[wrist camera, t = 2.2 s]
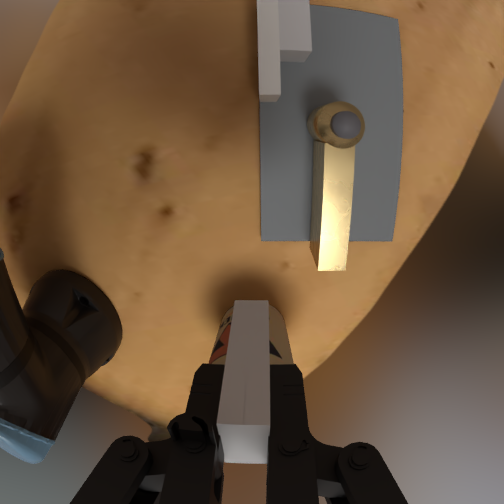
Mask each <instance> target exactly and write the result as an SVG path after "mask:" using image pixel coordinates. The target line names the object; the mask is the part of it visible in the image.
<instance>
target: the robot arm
mask: <svg viewBox="0 0 504 504" xmlns="http://www.w3.org/2000/svg"><path fill="white" fill-rule="evenodd" d="M3 258H4V254H3V251H2V249H1V248H0V447H1V448H2V449H4V450H5V451H7V452H8V453H10V454H12V455H13V456H15V457H17V458H19V459H21V460H23V461H25V462H28V463H34V464H35V463H39V462H41V461H42V460H43V459H44V458H45V456H46V454H47V453H48V451H49V449H50V447H51V446H52V445H54V444H55V440H56V438H57V436H58V433H59V431H60V429H61V427H62V425H63V423H64V421H65V419H66V417H67V415H68V413H69V411H70V409H71V407H72V405H73V403H74V401H75V399H76V397H77V395H78V393H79V391H80V389H81V387H82V385H83V384H84V382H85V380H86V379H87V378H88V377H90V376H91V375H92V374H93V373H95V372H96V371H97V370H98V369H99V368H100V367H101V366H103V365H105V364H106V363H108V362H109V361H110V360H111V359H112V358H113V357H114V355H115V353H116V351H117V350H118V348H119V346H120V344H121V340H122V328H121V323H120V320H119V317H118V315H117V313H116V311H115V309H114V307H113V306H112V304H111V303H110V301H109V300H108V299H107V297H106V296H105V295H104V294H103V293H102V292H101V291H100V290H99V289H98V288H97V287H96V286H95V285H94V284H92V283H91V282H90V281H88V280H87V279H85V278H84V277H82V276H80V275H78V274H76V273H74V272H71V271H67V270H53V271H50V272H48V273H46V274H45V275H44V276H42V277H41V278H40V279H39V280H38V281H37V282H36V283H35V284H34V285H33V287H32V289H31V291H30V294H29V297H28V299H27V301H26V303H25V305H24V307H23V309H22V308H21V306H20V304H19V301H18V299H17V296H16V293H15V291H14V288H13V285H12V283H11V280H10V277H9V274H8V271H7V268H6V265H5V262H4V259H3ZM304 394H305V393H304V387H303V376H302V373H301V371H300V370H299V368H298V367H297V366H296V364H270V356H269V304H268V300H235V302H234V309H233V315H232V322H231V328H230V335H229V342H228V348H227V355H226V362H225V365H224V364H202V365H201V366H200V367H199V368H198V370H197V371H196V372H195V375H194V379H193V383H192V387H191V391H190V395H189V399H188V403H187V408H186V412H185V413H183V414H180V415H178V416H176V417H175V418H173V419H172V420H171V421H170V423H169V425H168V426H167V429H168V431H169V433H170V435H171V438H169V439H166V440H162V441H155V442H146V443H145V442H144V441H142V440H141V439H140V438H138V437H134V436H123V437H120V438H118V439H116V440H115V441H114V442H113V443H112V444H111V445H110V447H109V448H108V450H107V451H106V453H105V454H104V455H103V457H102V458H101V460H100V461H99V462H98V464H97V465H96V467H95V468H94V470H93V471H92V473H91V474H90V475H89V477H88V478H87V480H86V481H85V482H84V484H83V485H82V487H81V488H80V490H79V491H78V492H77V494H76V495H75V497H74V498H73V500H72V501H71V502H70V504H221V501H222V492H223V481H224V473H223V462H224V461H225V462H229V463H259V464H260V463H262V464H263V463H265V464H267V482H266V485H267V496H266V504H319V498H318V496H323V497H325V499H326V501H327V504H408V503H407V501H406V499H405V497H404V495H403V494H402V492H401V490H400V488H399V487H398V485H397V483H396V481H395V480H394V478H393V476H392V474H391V472H390V471H389V469H388V467H387V465H386V464H385V462H384V460H383V458H382V456H381V455H380V453H379V451H378V450H377V449H376V448H375V447H374V446H372V445H370V444H368V443H363V442H356V443H351V444H349V445H348V446H346V447H344V448H341V447H336V446H330V445H326V444H323V443H321V442H319V441H317V440H316V439H315V438H314V437H313V436H312V435H311V433H310V431H309V427H308V419H307V410H306V401H305V395H304Z"/></svg>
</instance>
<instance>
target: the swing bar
mask: <svg viewBox="0 0 504 504" xmlns="http://www.w3.org/2000/svg"><path fill="white" fill-rule="evenodd" d="M341 111H350V112H353V113H354V114H356V115H357V116H358V118H359V120H360V122H361V130H360V132H359V134H358V135H357V136H356V137H354V138H352V139H344V138H340V137H338V136H336V135H335V134H334V133H333V132H332V130H331V127H330V121H331V118H332V117H333V115H334V114H336V113H338V112H341ZM307 128H308V131H309V133H310V135H311V136H312V137H313V138H314V139H315V140H313V186H312V212H311V232H310V250H311V253H312V255H313V258H314V261H315V264H316V267H317V269H318V271H334V270H345V267H346V259H347V250H348V241H349V231H350V221H351V209H352V196H353V181H354V162H355V145H356V144H357V143H358V142H359V141H360V140H361V139H362V137H363V135H364V132H365V121H364V118H363V116H362V114H361V112H360V111H359V110H358V109H357V108H356V107H355V106H354V105H352V104H350V103H348V102H343V101H337V102H333V103H329V104H326V105H323V106H320V107H317V108H315V109H314V110H313V111H312V112H311V113H310V115H309V116H308V120H307Z"/></svg>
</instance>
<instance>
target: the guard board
mask: <svg viewBox="0 0 504 504" xmlns="http://www.w3.org/2000/svg"><path fill="white" fill-rule="evenodd" d="M257 23H258V66H259V101H260V163H261V241H310V232H311V212H312V186H313V140H315V139H314V138H313V137H312V136H311V135H310V133H309V131H308V128H307V120H308V116H309V115H310V113H311V112H312V111H313V110H314V109H315V108H317V107H320V106H323V105H326V104H329V103H333V102H337V101H343V102H348V103H350V104H352V105H354V106H355V107H356V108H357V109H358V110H359V111H360V112H361V114H362V116H363V118H364V121H365V132H364V135H363V137H362V139H361V140H360V141H359V142H358V143H357V144H356V145H355V162H354V181H353V196H352V209H351V221H350V231H349V241H392V239H393V233H394V226H395V219H396V211H397V202H398V193H399V183H400V171H401V157H402V136H403V77H402V58H401V44H400V34H399V24H398V19H394V18H390V17H386V16H382V15H377V14H372V13H367V12H362V11H356V10H350V9H343V8H336V7H327V6H318V5H309V0H257ZM330 127H331V130H332V132H333V133H334V134H335V135H336V136H338V137H340V138H344V139H352V138H354V137H356V136H357V135H358V134H359V132H360V130H361V122H360V120H359V118H358V116H357V115H356V114H354V113H353V112H350V111H341V112H338V113H336V114H334V115H333V117H332V118H331V121H330Z"/></svg>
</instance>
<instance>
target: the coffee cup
mask: <svg viewBox="0 0 504 504" xmlns="http://www.w3.org/2000/svg"><path fill="white" fill-rule="evenodd" d="M233 309H234V306H233V307H232V308H230V309H229V310H228V311H227V312H226V314H225V315H224V317H223V319H222V322H221V325H220V328H219V331H218V334H217V337H216V341H215V344H214V347H213V350H212V354H211V357H210V360H209V364H224V365H225V362H226V355H227V348H228V342H229V335H230V328H231V322H232V315H233ZM269 356H270V364H294V363H293V358H292V353H291V348H290V344H289V339H288V334H287V330H286V326H285V322H284V319H283V317H282V315H281V314H280V313H279V311H278V310H277V309H275V308H274V307H273V306H271V305H269Z"/></svg>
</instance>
